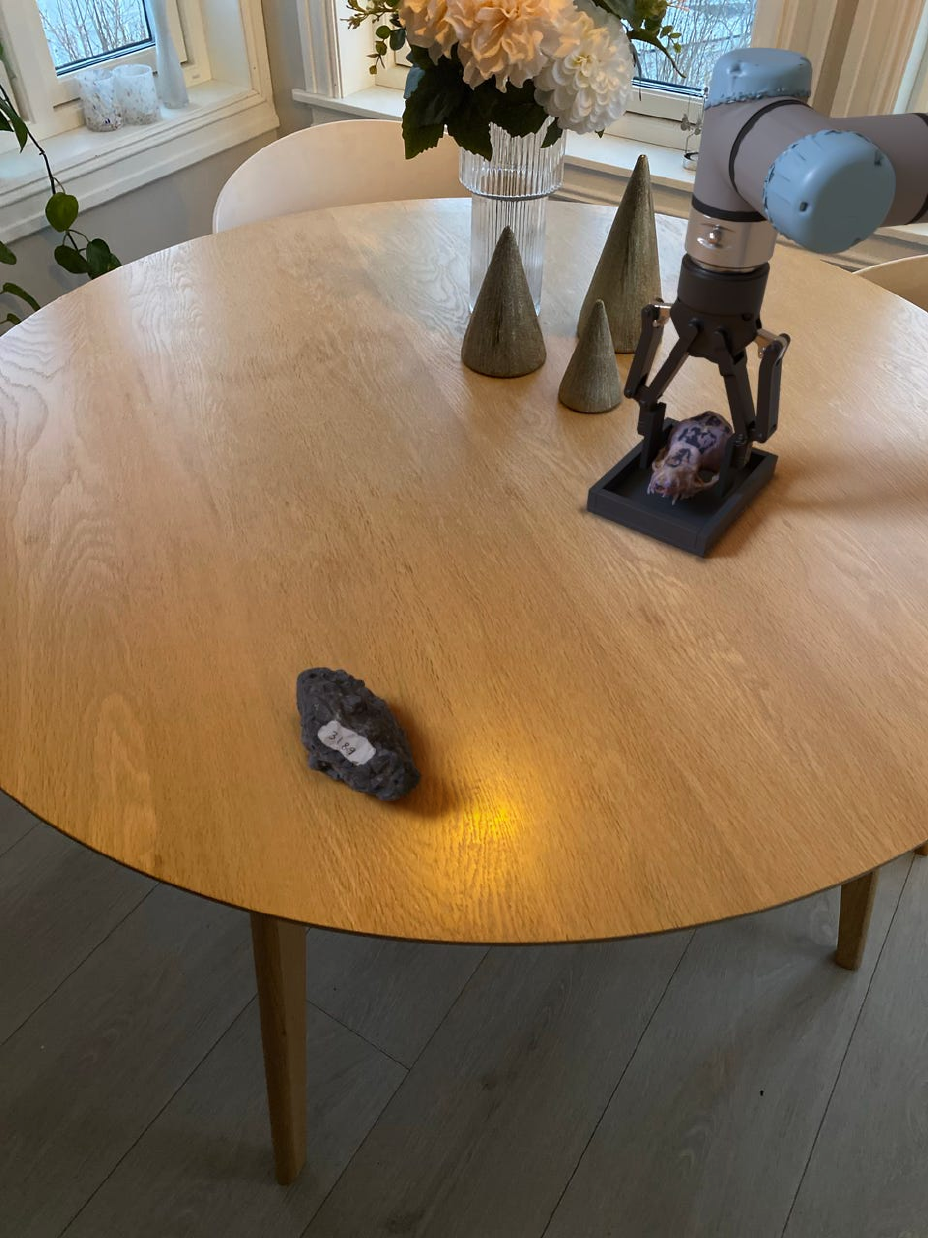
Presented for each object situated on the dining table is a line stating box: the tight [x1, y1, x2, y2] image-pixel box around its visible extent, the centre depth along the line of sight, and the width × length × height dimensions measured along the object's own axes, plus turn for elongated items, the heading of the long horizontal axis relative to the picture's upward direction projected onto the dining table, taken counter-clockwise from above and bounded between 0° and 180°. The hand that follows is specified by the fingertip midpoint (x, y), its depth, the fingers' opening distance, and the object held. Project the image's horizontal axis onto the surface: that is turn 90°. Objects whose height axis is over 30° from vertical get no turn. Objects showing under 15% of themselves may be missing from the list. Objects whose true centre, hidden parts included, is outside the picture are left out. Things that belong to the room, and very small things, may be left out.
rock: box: [295, 666, 424, 801], centre depth 73 cm, size 12×8×10 cm
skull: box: [647, 410, 734, 505], centre depth 97 cm, size 12×8×6 cm, turn 134°
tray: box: [586, 416, 779, 559], centre depth 99 cm, size 13×17×3 cm
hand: (685, 476), depth 98 cm, fingers closed on skull, 8 cm apart
